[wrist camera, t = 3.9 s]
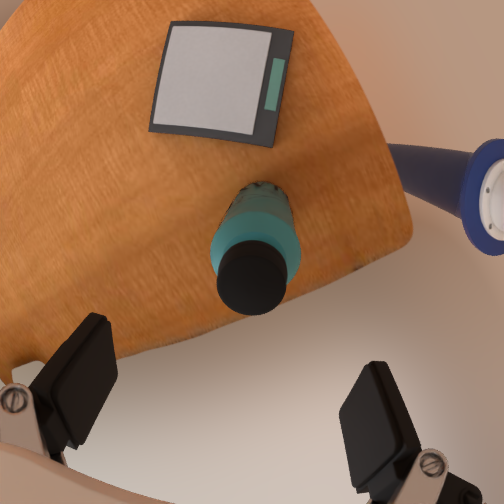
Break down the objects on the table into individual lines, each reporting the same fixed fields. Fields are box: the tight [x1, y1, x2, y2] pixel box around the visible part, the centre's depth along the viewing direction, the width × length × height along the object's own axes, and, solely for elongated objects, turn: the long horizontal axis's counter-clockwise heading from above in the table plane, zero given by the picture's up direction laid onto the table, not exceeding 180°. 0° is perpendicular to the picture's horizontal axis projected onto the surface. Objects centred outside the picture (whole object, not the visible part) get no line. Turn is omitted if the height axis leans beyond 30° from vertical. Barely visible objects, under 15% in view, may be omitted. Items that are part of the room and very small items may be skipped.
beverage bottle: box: [210, 181, 301, 316], centre depth 25 cm, size 6×7×20 cm
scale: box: [149, 21, 294, 148], centre depth 28 cm, size 14×14×3 cm
